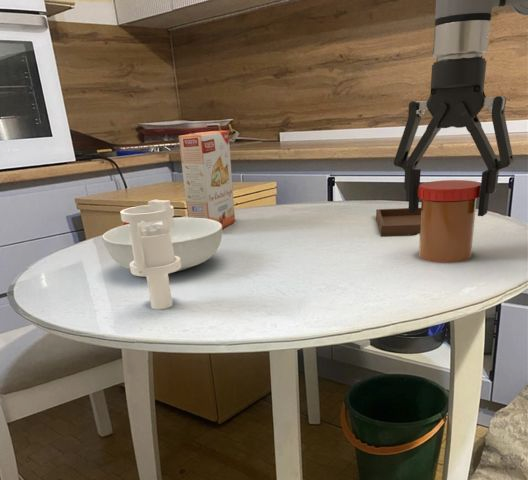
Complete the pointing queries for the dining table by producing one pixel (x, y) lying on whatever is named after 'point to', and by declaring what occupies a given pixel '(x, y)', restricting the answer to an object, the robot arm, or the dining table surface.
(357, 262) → the dining table surface
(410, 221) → the tray
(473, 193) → the lid
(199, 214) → the cracker box
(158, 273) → the white framed cylinder holder
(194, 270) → the dining table surface
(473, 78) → the robot arm
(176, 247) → the serving bowl
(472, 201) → the jar
